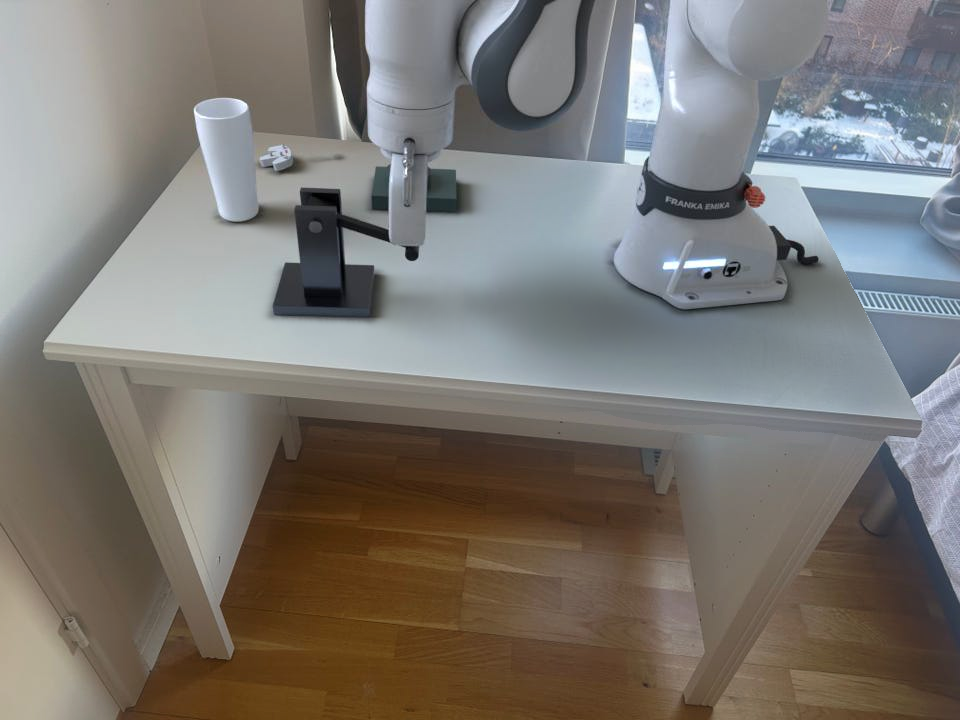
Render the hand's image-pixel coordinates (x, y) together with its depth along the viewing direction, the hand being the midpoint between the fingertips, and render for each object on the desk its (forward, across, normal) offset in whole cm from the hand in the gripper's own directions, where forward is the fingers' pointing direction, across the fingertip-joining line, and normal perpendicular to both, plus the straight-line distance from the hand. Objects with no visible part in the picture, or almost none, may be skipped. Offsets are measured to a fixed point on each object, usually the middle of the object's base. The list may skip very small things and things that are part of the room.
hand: (409, 236), depth 85 cm
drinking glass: (+9, +18, +24) cm, 31 cm away
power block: (+8, +25, 0) cm, 26 cm away
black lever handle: (0, 0, +6) cm, 6 cm away
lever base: (+8, 0, +10) cm, 13 cm away
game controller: (+9, +34, +18) cm, 40 cm away
